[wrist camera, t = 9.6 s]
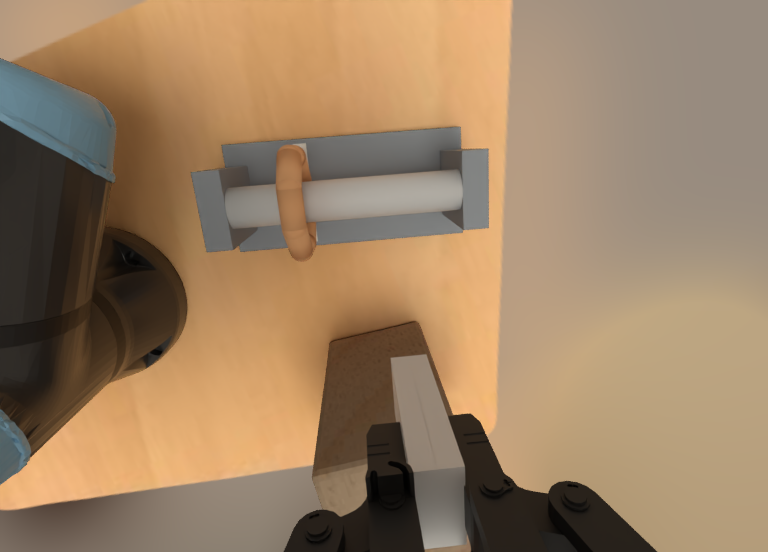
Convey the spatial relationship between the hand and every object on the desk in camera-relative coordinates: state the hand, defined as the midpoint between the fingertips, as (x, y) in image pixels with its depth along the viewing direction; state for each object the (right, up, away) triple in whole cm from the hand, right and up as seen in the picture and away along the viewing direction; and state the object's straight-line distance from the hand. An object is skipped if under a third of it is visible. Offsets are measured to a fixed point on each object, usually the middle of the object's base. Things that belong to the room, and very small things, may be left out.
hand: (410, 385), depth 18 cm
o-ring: (-8, +12, +20) cm, 24 cm away
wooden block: (-1, -6, +30) cm, 30 cm away
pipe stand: (-5, +13, +23) cm, 27 cm away
